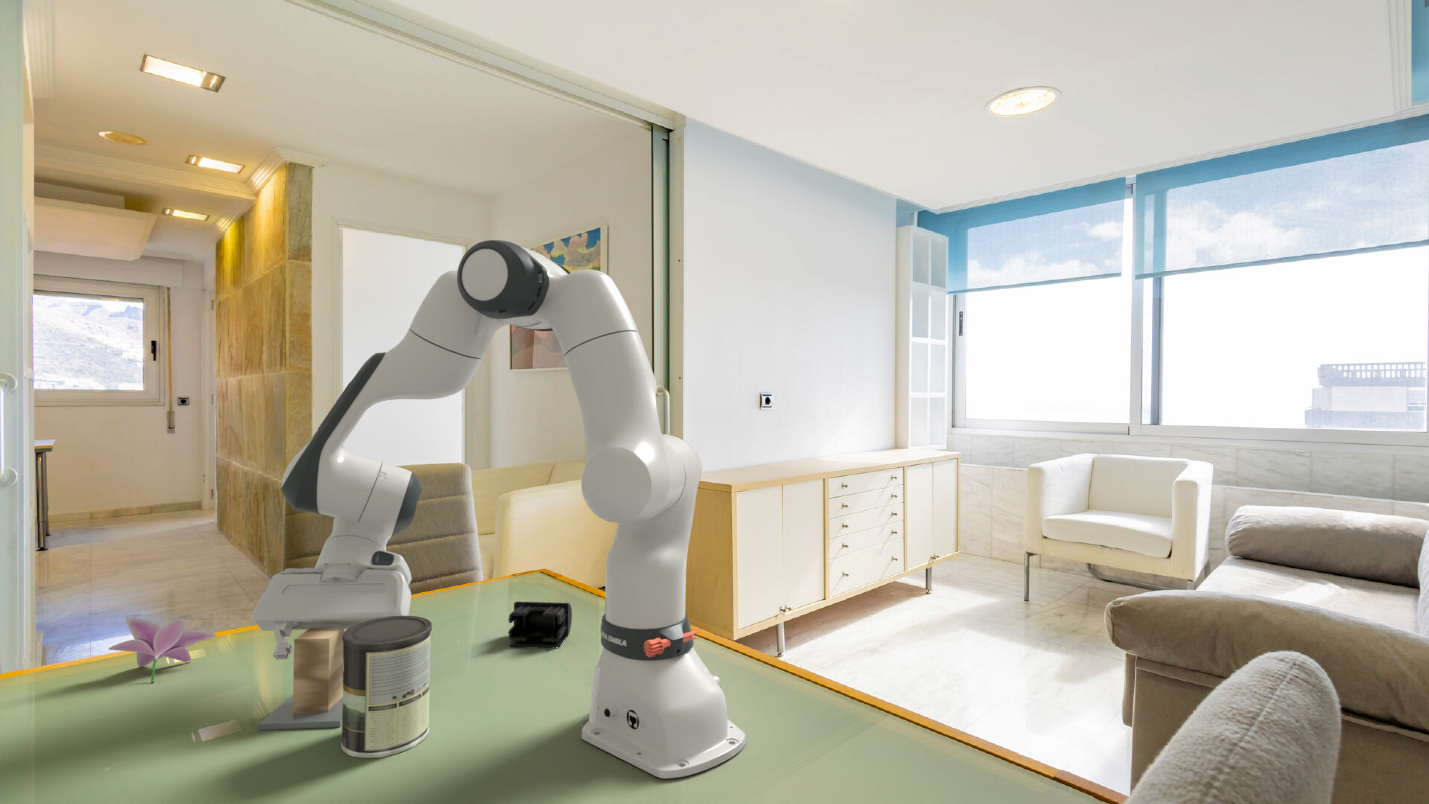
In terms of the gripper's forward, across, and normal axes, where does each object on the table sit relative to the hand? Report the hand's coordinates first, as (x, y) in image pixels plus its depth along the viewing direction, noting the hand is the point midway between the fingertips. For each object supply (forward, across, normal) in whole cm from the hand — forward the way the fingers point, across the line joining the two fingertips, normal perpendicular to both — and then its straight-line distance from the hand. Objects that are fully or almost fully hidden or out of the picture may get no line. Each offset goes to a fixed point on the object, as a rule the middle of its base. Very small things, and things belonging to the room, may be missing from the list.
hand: (317, 656), depth 91 cm
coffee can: (+11, +12, 0) cm, 16 cm away
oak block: (+4, 0, +5) cm, 7 cm away
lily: (-6, -30, +17) cm, 35 cm away
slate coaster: (+5, 0, +6) cm, 8 cm away
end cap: (-12, +26, +24) cm, 38 cm away
